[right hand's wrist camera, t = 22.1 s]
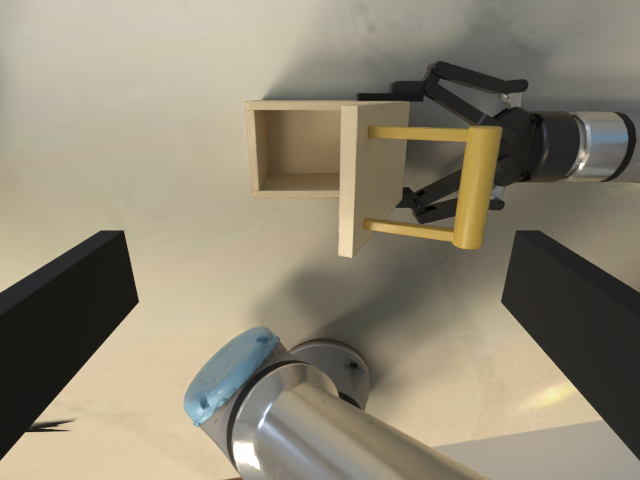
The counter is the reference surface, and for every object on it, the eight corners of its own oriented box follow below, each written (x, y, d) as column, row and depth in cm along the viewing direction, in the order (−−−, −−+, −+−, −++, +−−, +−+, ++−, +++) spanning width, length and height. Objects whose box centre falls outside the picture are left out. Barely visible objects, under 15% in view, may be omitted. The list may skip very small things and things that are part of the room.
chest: (264, 178, 48) (252, 198, 39) (259, 100, 44) (245, 101, 35) (380, 178, 48) (395, 197, 39) (385, 100, 44) (403, 101, 35)
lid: (337, 255, 25) (477, 280, 21) (340, 105, 21) (508, 107, 18) (392, 198, 38) (482, 208, 35) (399, 101, 35) (500, 102, 32)
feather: (-65, 429, 66) (-77, 433, 64) (80, 419, 64) (72, 422, 62) (-65, 439, 66) (-78, 444, 64) (80, 429, 64) (72, 433, 62)
